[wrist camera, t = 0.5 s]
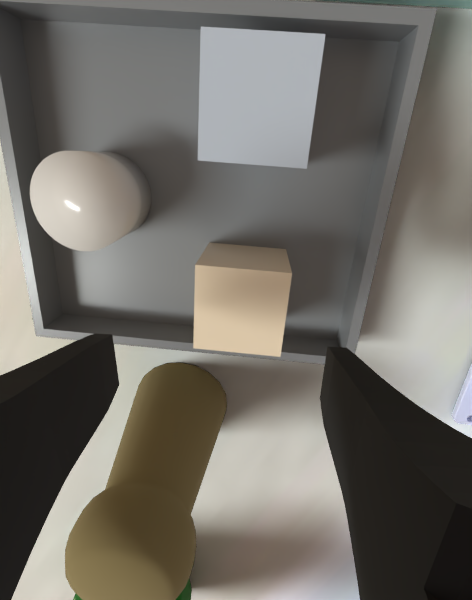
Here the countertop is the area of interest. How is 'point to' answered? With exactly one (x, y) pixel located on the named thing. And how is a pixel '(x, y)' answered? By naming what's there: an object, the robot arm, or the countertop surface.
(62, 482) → the robot arm
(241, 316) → the tan rectangular block
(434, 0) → the dish
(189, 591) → the milk carton
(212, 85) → the light gray rectangular block
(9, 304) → the countertop surface
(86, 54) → the tray
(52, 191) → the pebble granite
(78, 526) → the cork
